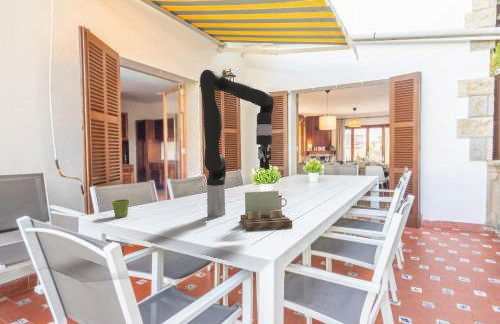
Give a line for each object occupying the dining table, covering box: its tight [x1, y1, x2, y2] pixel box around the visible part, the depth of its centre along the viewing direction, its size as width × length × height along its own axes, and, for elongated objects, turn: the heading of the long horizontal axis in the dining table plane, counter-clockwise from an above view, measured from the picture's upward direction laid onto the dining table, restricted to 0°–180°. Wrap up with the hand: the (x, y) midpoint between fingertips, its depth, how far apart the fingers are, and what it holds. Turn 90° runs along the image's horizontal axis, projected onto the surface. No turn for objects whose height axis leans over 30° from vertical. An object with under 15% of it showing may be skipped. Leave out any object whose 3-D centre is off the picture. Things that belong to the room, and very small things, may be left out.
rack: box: [240, 213, 293, 232], centre depth 136 cm, size 20×18×4 cm
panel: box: [244, 190, 280, 216], centre depth 141 cm, size 16×1×14 cm, turn 101°
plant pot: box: [110, 198, 131, 219], centre depth 161 cm, size 9×9×9 cm
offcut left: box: [248, 211, 261, 219], centre depth 135 cm, size 6×2×6 cm, turn 101°
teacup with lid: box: [271, 189, 288, 211], centre depth 171 cm, size 12×9×12 cm
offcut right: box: [269, 210, 283, 218], centre depth 137 cm, size 6×2×6 cm, turn 101°
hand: (264, 168), depth 142 cm, fingers open, 8 cm apart
